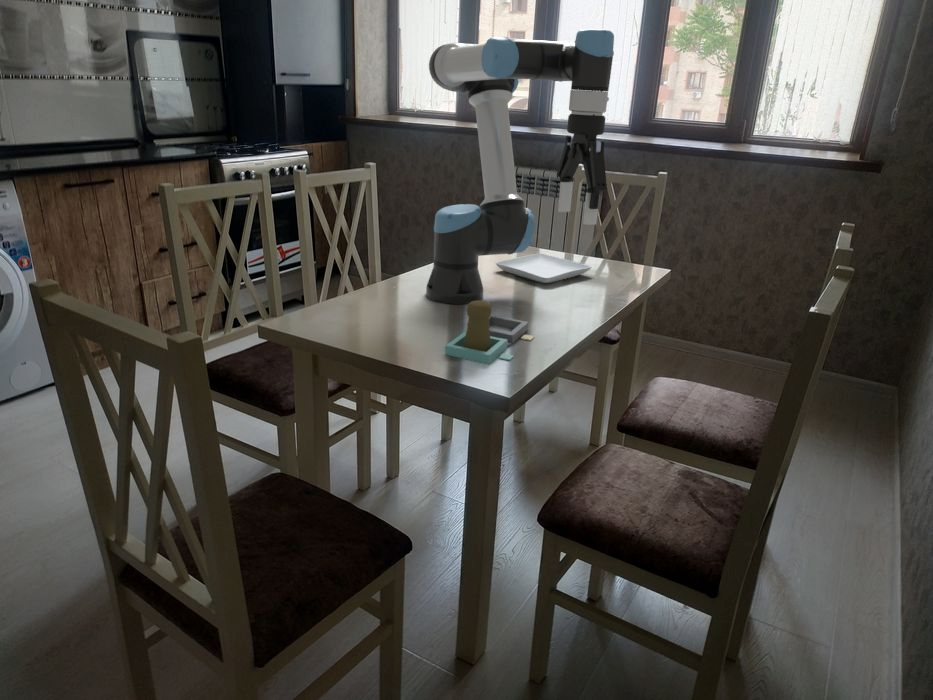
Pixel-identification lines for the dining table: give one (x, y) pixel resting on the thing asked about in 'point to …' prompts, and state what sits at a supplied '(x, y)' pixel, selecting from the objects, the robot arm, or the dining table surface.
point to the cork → (478, 326)
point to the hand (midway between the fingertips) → (576, 217)
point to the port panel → (491, 341)
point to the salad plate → (543, 267)
